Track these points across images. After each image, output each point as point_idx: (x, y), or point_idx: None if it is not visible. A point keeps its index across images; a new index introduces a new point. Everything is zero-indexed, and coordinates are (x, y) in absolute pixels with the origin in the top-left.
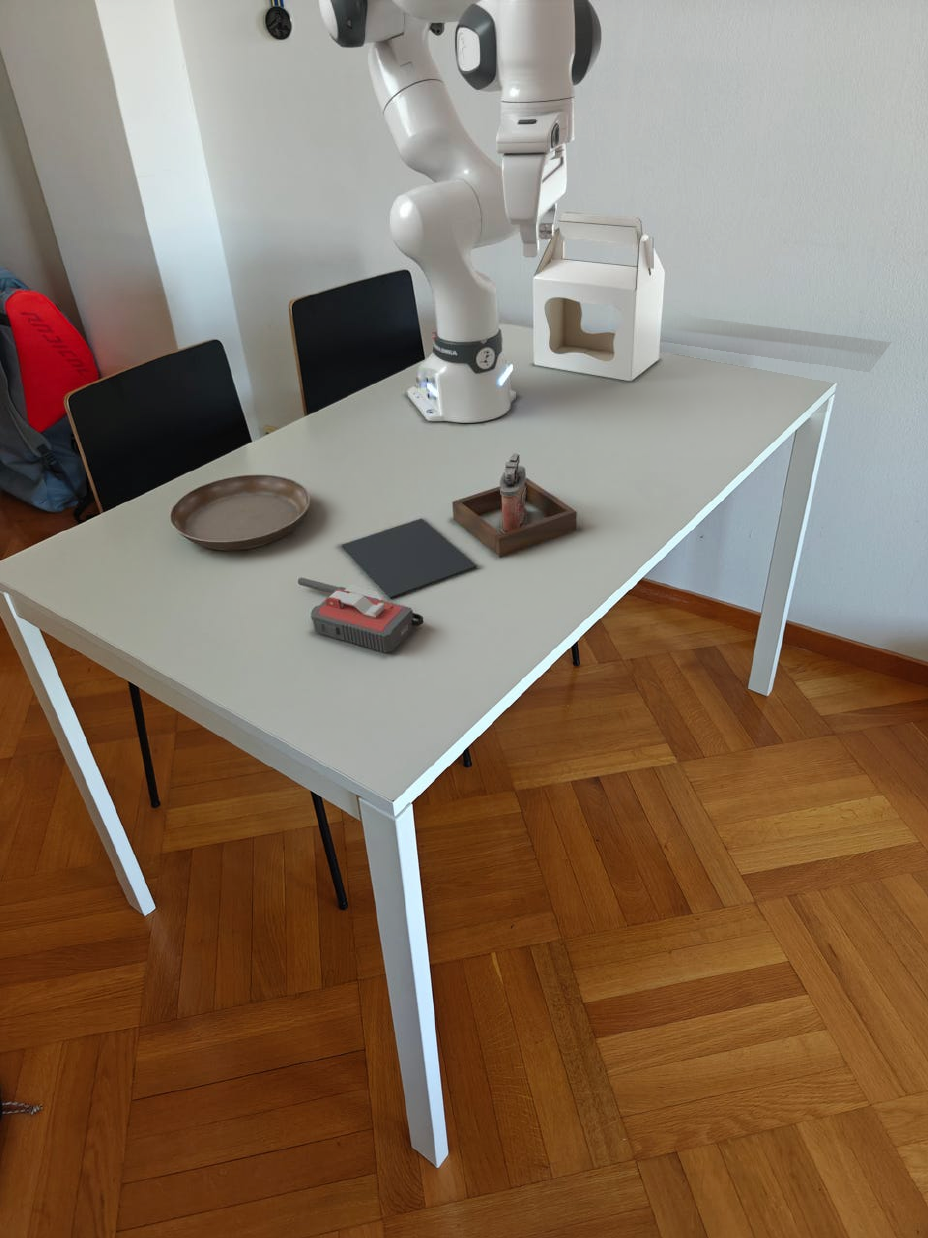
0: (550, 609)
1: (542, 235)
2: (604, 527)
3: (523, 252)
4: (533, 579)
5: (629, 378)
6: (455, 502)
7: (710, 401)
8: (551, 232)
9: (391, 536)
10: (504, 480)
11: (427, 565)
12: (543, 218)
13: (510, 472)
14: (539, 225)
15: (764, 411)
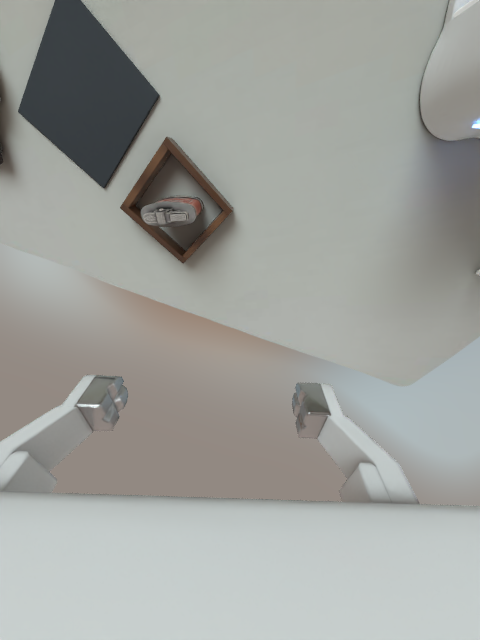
0: (85, 254)
1: (297, 393)
2: (195, 276)
3: (81, 380)
4: (111, 237)
5: (478, 272)
6: (166, 141)
7: (401, 331)
8: (297, 416)
9: (110, 63)
10: (161, 207)
11: (81, 136)
12: (337, 435)
13: (146, 219)
14: (306, 414)
15: (372, 359)
